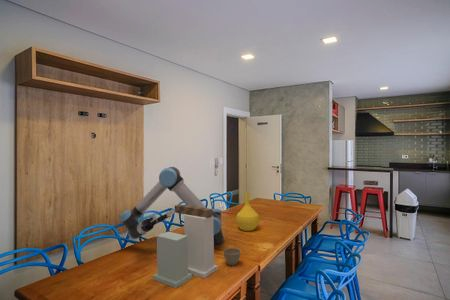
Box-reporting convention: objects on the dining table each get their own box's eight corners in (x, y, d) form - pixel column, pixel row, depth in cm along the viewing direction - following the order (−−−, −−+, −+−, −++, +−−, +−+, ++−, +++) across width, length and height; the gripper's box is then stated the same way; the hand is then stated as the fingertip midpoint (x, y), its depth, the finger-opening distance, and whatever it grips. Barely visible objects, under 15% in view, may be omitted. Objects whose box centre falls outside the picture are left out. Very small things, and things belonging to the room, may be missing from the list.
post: (153, 279, 135) (152, 236, 135) (170, 270, 145) (169, 230, 145) (175, 288, 126) (175, 242, 126) (192, 277, 136) (191, 235, 136)
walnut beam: (174, 212, 152) (174, 205, 152) (179, 211, 155) (179, 204, 155) (208, 218, 139) (208, 210, 139) (212, 216, 142) (212, 208, 142)
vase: (233, 231, 210) (233, 194, 210) (239, 225, 228) (239, 190, 227) (256, 233, 204) (255, 195, 204) (260, 227, 222) (260, 191, 221)
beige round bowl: (230, 258, 160) (230, 246, 160) (244, 262, 153) (244, 250, 153) (220, 264, 152) (219, 251, 152) (233, 269, 146) (233, 256, 146)
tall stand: (181, 270, 144) (180, 215, 144) (195, 262, 154) (194, 211, 154) (204, 278, 136) (203, 219, 135) (217, 269, 146) (216, 214, 145)
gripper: (162, 226, 180) (182, 214, 169) (130, 237, 159) (151, 224, 149) (158, 216, 182) (177, 204, 171) (126, 225, 161) (146, 211, 151)
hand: (165, 213), depth 160 cm, fingers open, 13 cm apart
